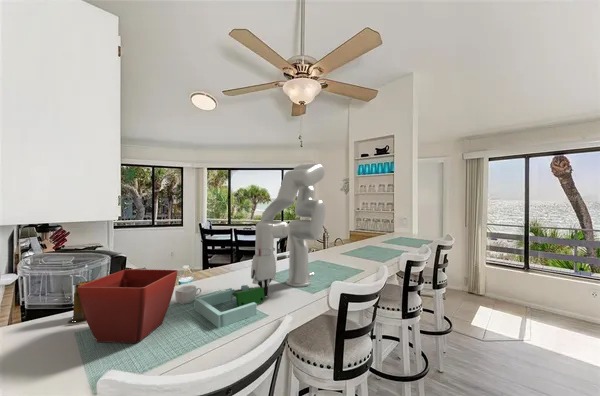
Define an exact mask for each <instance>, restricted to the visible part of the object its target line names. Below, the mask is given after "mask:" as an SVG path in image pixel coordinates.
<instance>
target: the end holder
mask: <svg viewBox="0 0 600 396" xmlns="http://www.w3.org/2000/svg"><path fill="white" fill-rule="evenodd" d="M193 301H194V302H193V303H194V305H193V306H194V307H193V310H195V311H196V312H197V313H199V314H200V315H201V316H203V317H204V318H205V319H206V320H208V321H209V323H212V324H213V325H214V326H216V327H217V328H218V329H220V328H222V327H225V326H228V325H229V326H230V325H231V324H234V323H236V322H239V321H242V320H244V319H248V318H250V317H254V316H257V305H258V304H257V303H255V302H253V303H250V304H247V305H243V306H240V307H237V306H236V307H234V308H231V309H228V310H224V311H220V310H218V309H217V308H215V307H214V306H217V305H220V304H223V303H227V302H229V301H230V302H231V301H232V296H231V290H226V289H225V290H222V291H217V292H213V293H211V294H207V295H203V296H199V297H195V298H194V300H193Z"/></svg>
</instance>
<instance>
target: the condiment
mask: <svg viewBox="0 0 600 396" xmlns="http://www.w3.org/2000/svg"><path fill="white" fill-rule="evenodd" d="M91 281H92V280H86V281H81V282H78V283H76V284H75V292H74V293H73V313H72V314H73V316H72V317H73V319H72V318H71V319H69V321H67V323H66V324H65V325H64V326H66V327H67V326H76V325H77V326H78V325H83V324H88V323H87V321H86V318H85V315H84V313H83V309H82V306H81V302H80V297H79V292H78V286H80V285H82V284H85V283H88V282H91ZM72 321H76V322H72Z"/></svg>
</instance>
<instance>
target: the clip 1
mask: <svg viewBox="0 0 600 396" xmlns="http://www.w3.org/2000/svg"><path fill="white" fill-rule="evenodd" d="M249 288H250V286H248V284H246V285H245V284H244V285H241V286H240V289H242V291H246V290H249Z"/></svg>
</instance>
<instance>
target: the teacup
mask: <svg viewBox="0 0 600 396" xmlns="http://www.w3.org/2000/svg"><path fill="white" fill-rule="evenodd" d="M198 290H199V292H198ZM174 291H175V292H174V293H175V300H176V301H177V303H178V304H181V305H187V304H191V303H192V302H193V301H194V298H197V296H198V295H200V294H202V289H201V288H200V287H197V286H196V285H189V284H188V285H182V286H178V287H175V288H174ZM197 292H198V293H197Z"/></svg>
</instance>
